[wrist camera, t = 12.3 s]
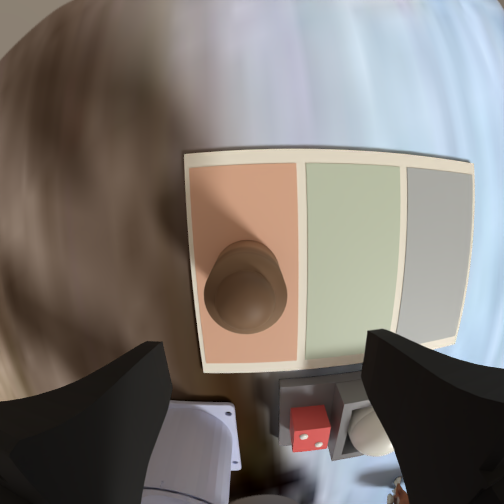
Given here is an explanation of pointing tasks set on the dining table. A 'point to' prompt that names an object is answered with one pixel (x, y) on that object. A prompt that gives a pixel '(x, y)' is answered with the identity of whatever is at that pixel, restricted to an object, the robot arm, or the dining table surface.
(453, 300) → the game board
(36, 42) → the dining table surface
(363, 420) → the dome
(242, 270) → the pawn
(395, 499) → the bull figurine
